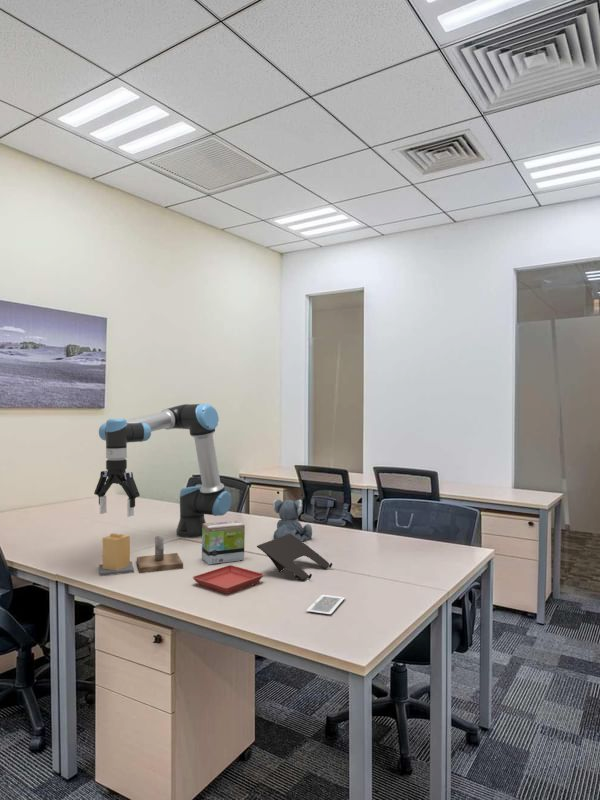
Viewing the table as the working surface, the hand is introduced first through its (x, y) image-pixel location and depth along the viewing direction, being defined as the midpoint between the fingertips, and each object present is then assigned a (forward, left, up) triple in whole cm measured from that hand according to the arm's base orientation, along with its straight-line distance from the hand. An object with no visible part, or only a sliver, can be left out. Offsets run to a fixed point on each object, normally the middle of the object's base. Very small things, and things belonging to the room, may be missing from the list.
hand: (116, 514), depth 207 cm
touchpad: (-59, +64, -22) cm, 90 cm away
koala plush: (-77, -18, -21) cm, 82 cm away
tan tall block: (0, 0, -20) cm, 20 cm away
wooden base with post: (-16, 0, -21) cm, 26 cm away
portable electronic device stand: (-64, +27, -21) cm, 72 cm away
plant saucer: (-36, +32, -22) cm, 53 cm away
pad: (0, 0, -21) cm, 21 cm away
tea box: (-41, +2, -21) cm, 46 cm away
